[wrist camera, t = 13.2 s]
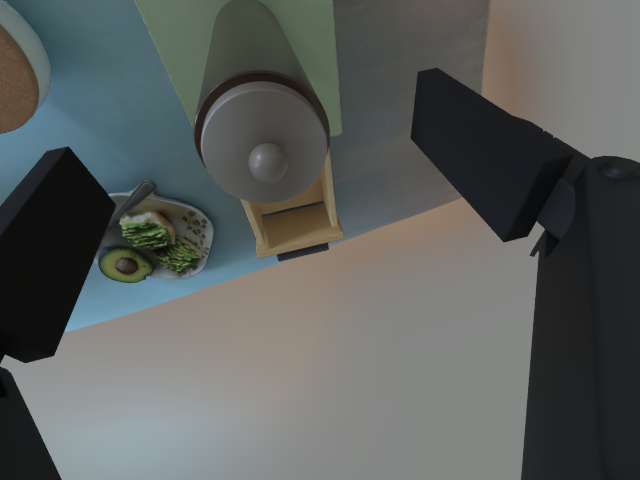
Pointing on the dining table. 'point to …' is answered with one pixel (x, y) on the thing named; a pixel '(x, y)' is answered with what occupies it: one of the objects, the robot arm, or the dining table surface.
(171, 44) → the cabinet
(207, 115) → the pepper mill
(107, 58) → the dining table surface
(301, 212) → the drawer
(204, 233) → the salad plate
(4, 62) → the trinket box
